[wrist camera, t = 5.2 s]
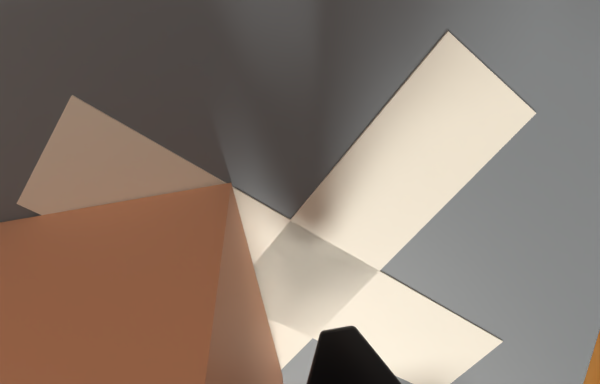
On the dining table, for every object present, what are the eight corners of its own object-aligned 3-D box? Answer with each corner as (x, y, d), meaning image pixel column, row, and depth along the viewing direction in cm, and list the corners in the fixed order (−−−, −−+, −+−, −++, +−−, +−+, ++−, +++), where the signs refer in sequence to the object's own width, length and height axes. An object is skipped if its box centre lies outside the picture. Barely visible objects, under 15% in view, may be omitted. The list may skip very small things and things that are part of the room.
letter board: (720, -138, 7) (747, -143, 6) (569, 391, 14) (578, 403, 13) (-260, 25, 7) (-292, 28, 6) (88, 479, 14) (83, 494, 13)
